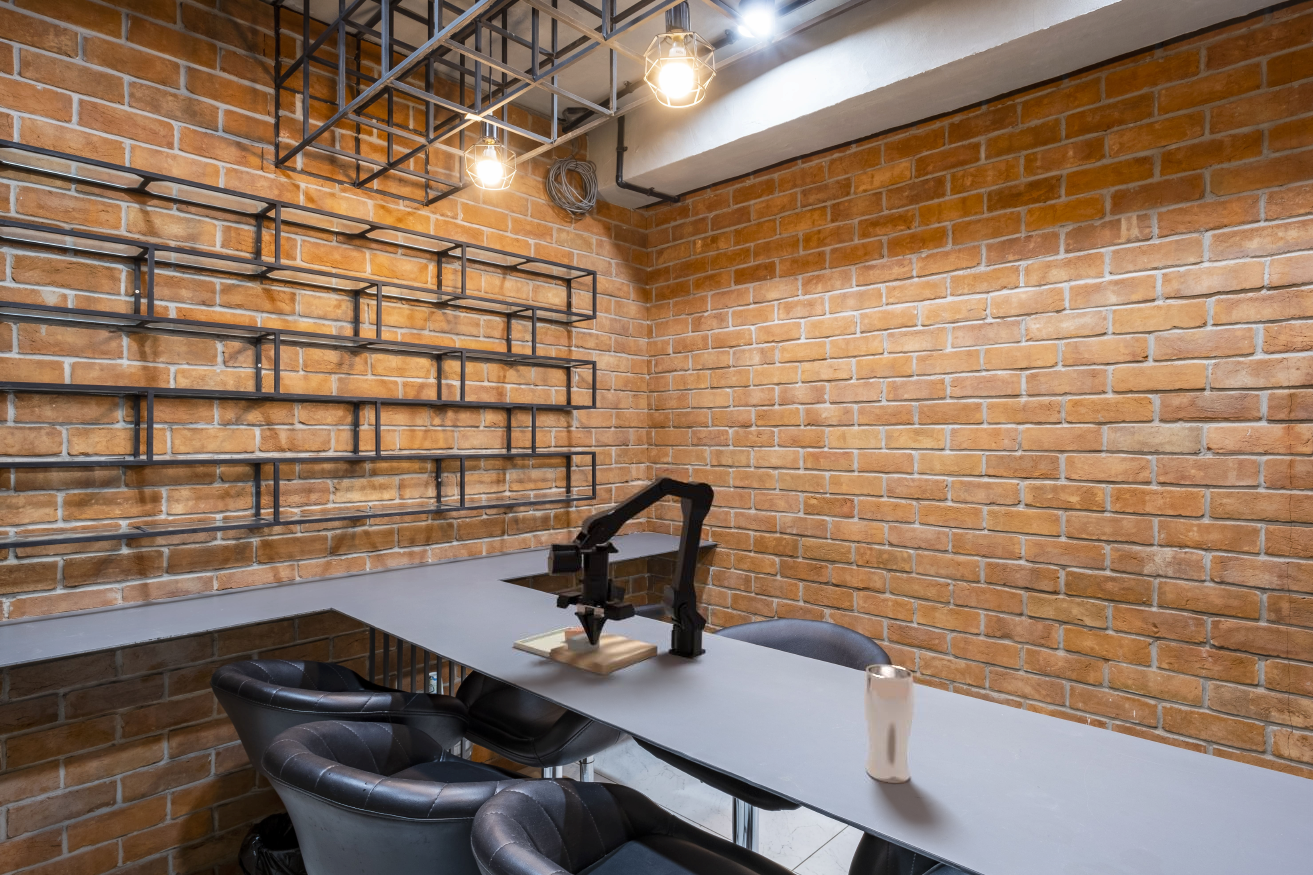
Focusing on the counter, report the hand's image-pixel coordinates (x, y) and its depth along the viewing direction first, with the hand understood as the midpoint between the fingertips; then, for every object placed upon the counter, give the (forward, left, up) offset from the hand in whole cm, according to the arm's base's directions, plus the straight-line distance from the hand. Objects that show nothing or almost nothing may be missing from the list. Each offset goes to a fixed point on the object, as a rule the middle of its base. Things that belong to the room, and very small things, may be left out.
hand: (593, 644), depth 147 cm
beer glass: (-67, +8, -4) cm, 68 cm away
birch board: (+1, -4, -4) cm, 5 cm away
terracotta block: (+12, -8, -3) cm, 15 cm away
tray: (+15, -4, -4) cm, 16 cm away
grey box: (+3, 0, -2) cm, 4 cm away
